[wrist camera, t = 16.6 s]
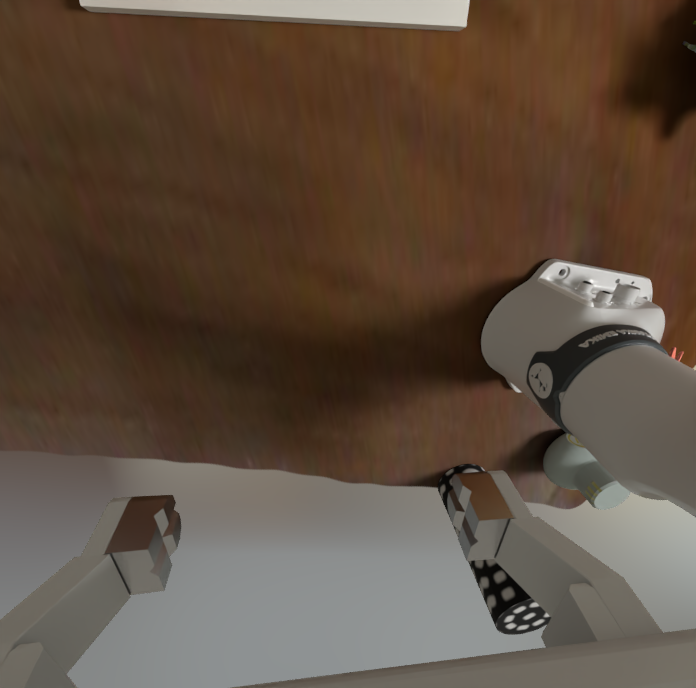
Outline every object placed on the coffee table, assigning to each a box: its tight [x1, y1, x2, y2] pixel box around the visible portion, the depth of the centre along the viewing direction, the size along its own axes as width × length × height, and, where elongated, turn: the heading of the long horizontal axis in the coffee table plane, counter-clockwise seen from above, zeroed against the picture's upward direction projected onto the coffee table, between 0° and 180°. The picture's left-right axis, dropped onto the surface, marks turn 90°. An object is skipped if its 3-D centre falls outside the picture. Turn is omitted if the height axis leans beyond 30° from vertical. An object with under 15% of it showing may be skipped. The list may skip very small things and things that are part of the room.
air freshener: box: [543, 433, 630, 509], centre depth 57 cm, size 11×8×10 cm
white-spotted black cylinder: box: [438, 464, 551, 635], centre depth 53 cm, size 8×8×20 cm
